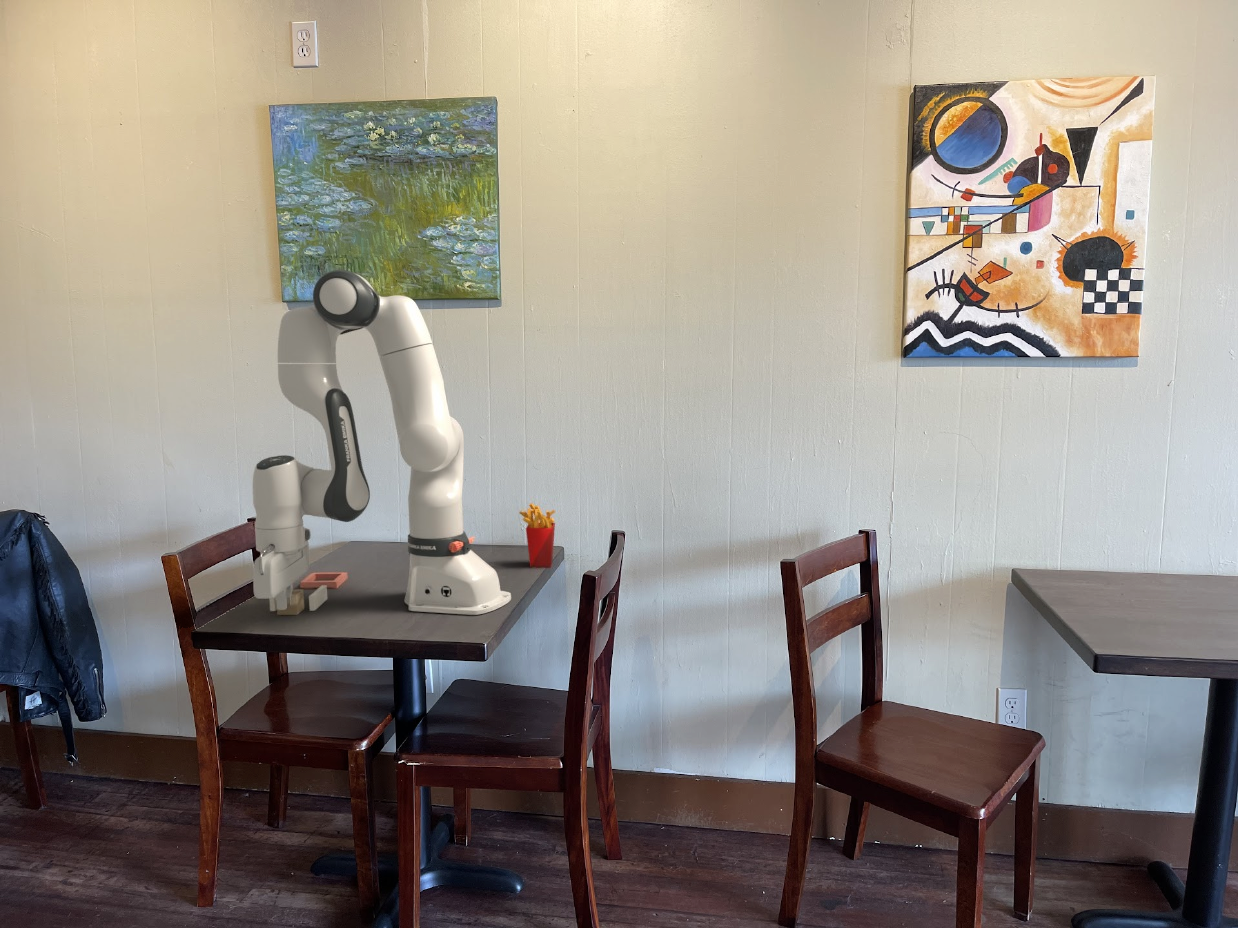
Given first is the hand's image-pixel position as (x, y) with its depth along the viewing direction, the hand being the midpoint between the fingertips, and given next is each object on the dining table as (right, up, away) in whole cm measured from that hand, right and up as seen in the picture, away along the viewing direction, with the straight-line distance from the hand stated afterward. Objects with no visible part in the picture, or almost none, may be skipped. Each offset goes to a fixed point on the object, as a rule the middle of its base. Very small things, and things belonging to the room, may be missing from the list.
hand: (284, 607), depth 169 cm
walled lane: (0, -1, +8) cm, 8 cm away
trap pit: (0, +1, +24) cm, 24 cm away
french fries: (+46, +3, +38) cm, 60 cm away
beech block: (0, -1, +4) cm, 4 cm away
